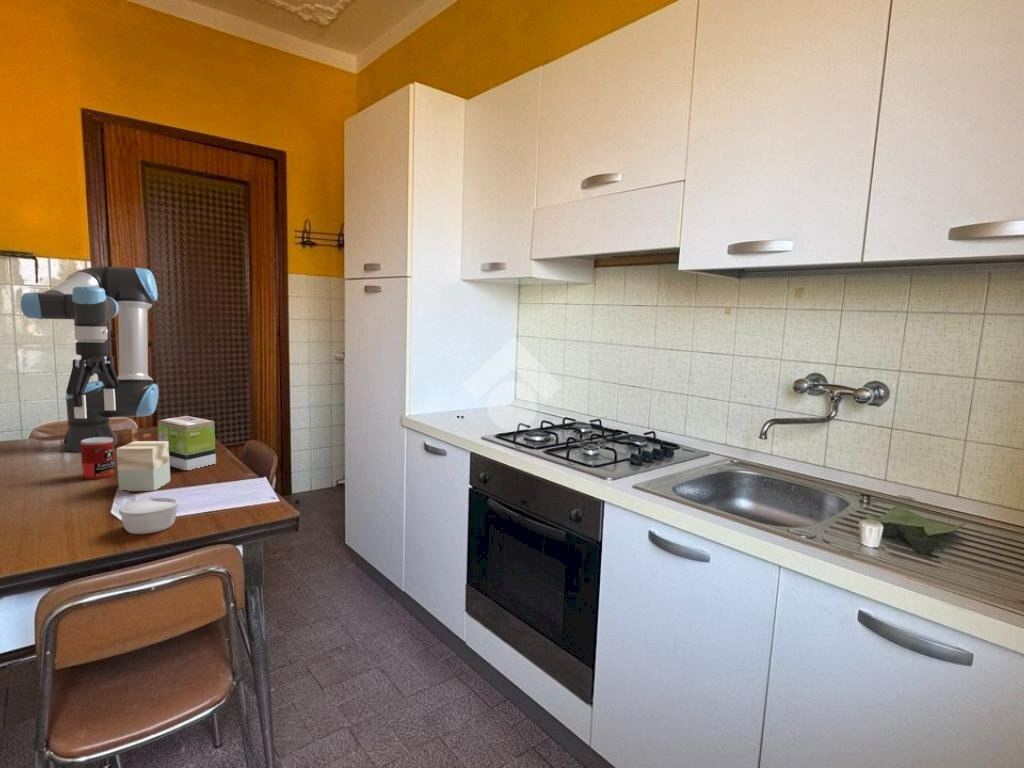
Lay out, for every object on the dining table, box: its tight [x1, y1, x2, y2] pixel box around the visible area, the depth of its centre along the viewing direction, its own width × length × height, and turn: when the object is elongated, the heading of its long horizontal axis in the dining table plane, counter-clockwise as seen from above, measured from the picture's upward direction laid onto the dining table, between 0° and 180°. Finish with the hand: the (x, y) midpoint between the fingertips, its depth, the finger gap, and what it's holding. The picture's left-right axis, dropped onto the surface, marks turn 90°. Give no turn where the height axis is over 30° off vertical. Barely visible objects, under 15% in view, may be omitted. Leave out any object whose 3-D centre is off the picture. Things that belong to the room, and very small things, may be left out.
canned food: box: [80, 437, 116, 480], centre depth 162 cm, size 8×8×11 cm
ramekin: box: [118, 497, 179, 535], centre depth 126 cm, size 11×11×5 cm
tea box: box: [157, 415, 217, 471], centre depth 177 cm, size 15×10×15 cm
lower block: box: [117, 462, 171, 492], centre depth 155 cm, size 9×9×6 cm
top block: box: [116, 440, 169, 471], centre depth 154 cm, size 9×9×6 cm
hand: (96, 414), depth 161 cm, fingers open, 13 cm apart
